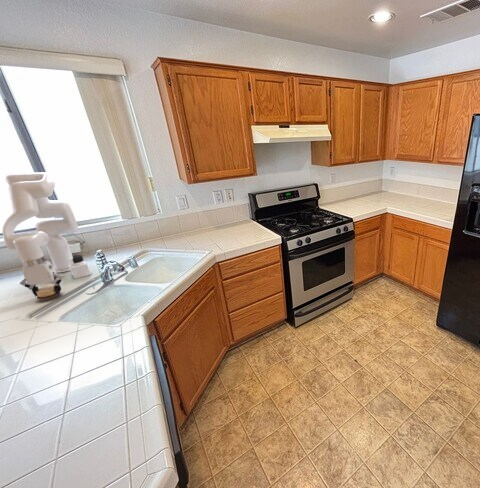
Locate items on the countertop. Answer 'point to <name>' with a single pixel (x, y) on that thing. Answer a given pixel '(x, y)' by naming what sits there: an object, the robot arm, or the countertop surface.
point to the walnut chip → (49, 297)
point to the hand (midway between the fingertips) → (48, 293)
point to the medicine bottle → (78, 266)
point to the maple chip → (46, 291)
